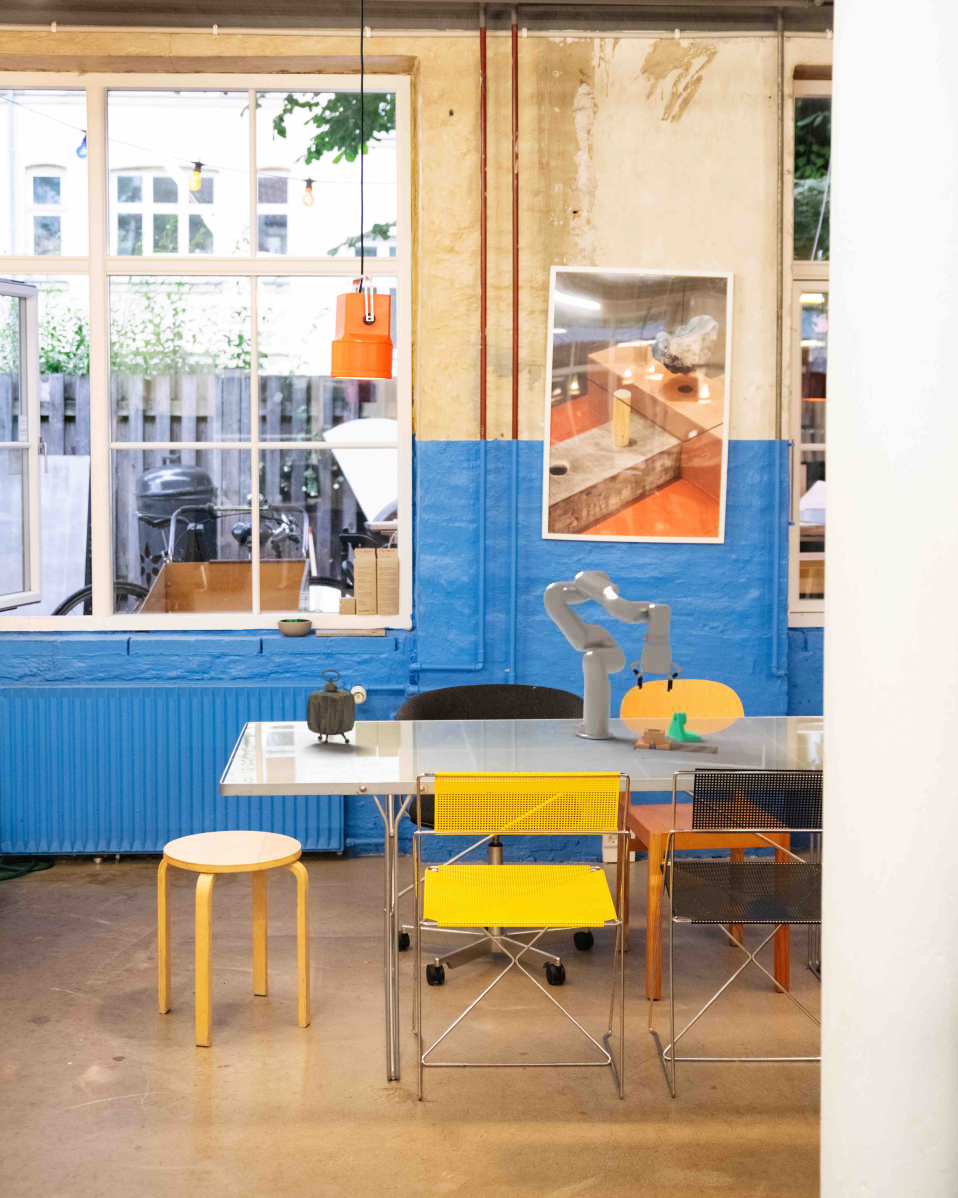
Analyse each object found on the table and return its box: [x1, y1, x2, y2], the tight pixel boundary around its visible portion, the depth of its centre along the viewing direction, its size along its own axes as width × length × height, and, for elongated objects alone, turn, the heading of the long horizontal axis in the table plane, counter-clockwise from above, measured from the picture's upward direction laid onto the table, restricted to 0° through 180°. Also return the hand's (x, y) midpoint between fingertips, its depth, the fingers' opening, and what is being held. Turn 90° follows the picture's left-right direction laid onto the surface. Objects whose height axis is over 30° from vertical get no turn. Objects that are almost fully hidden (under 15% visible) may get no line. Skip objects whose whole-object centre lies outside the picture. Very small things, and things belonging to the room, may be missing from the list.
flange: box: [635, 727, 672, 751], centre depth 389 cm, size 11×11×5 cm
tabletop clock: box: [306, 668, 356, 745], centre depth 383 cm, size 14×9×25 cm, turn 65°
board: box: [633, 741, 719, 755], centre depth 387 cm, size 27×12×4 cm, turn 76°
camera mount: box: [667, 711, 702, 742], centre depth 405 cm, size 12×8×10 cm, turn 13°
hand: (654, 690), depth 391 cm, fingers open, 9 cm apart
